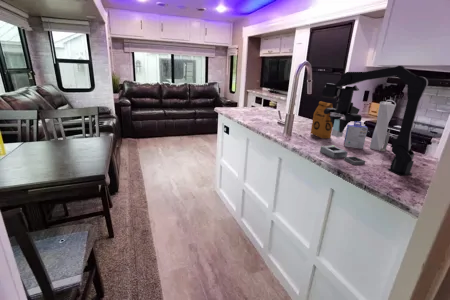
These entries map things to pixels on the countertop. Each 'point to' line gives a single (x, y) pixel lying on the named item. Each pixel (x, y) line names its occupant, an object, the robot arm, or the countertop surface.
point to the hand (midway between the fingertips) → (337, 131)
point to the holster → (357, 162)
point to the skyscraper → (382, 126)
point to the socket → (333, 151)
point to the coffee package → (322, 121)
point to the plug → (336, 129)
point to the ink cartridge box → (355, 135)
